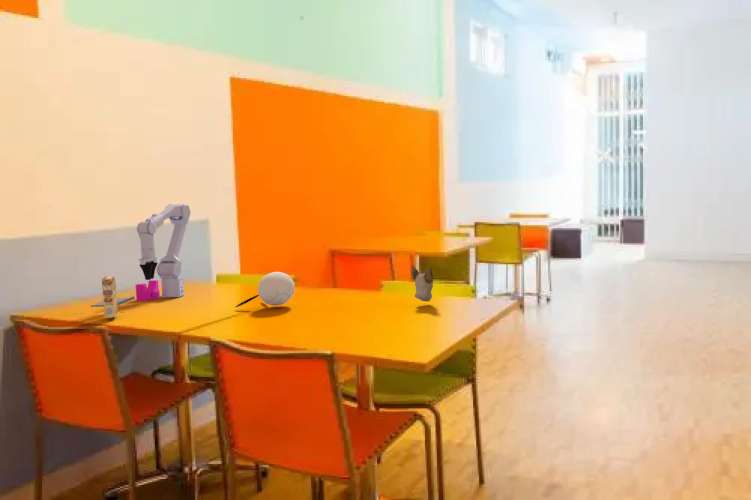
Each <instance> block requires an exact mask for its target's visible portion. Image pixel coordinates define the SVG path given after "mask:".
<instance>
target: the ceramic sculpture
mask: <svg viewBox="0 0 751 500" xmlns="http://www.w3.org/2000/svg"><path fill="white" fill-rule="evenodd" d="M411 266H412V267H411V271H410V272H411V278H412V280H413V281H414V284H415V293H414V298H416V299H418V300H420V301H421V302H431V300H432V298H433V294H432V290H433V287H434V274H433V272H432V271H433V270H432V266H429V267H428V268H427V269H426V270H425V272H422V273H420V272H419V270H418V269H417V268H416V267H415V265H411Z"/></svg>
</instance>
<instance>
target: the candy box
mask: <svg viewBox="0 0 751 500" xmlns="http://www.w3.org/2000/svg"><path fill="white" fill-rule="evenodd" d="M101 284H102V285H101V286H102V287H101V289H102V299H103V300H102V301H104V306H103V312H104V318H105V319H106V318H115V317H117V315H118V314H119V309H118V308H119V305H118V306H117V298H118V295H117V282H116V275H111V276H110V275H109V276H108V275H107V276H104V277H103V278H102V279H101Z"/></svg>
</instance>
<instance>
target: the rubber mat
mask: <svg viewBox="0 0 751 500" xmlns="http://www.w3.org/2000/svg"><path fill="white" fill-rule="evenodd" d="M134 299H136V295H135V296H130V297H117V306H118V307H119V306H120V305H123V304H126V302H127V303H128V302H130V301H132V300H134ZM90 307H104V301H103V300H102V301H99V302H97V303H94V304H91V305H90Z"/></svg>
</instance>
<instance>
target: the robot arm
mask: <svg viewBox="0 0 751 500" xmlns="http://www.w3.org/2000/svg"><path fill="white" fill-rule="evenodd" d="M190 216H191V209H190V206H189V205H188V204H187V203H183V204H181V203H175V204H171V203H169V204H167V205H166V206H165V208H164V209H163V210H162V211H161V212H159V213H153V214H151V216H150V217H148V218H146V219H145V220H144V221H140V222H138V224H137V226H136V227H137V228H136V231H137V233H138V237H139V239H140V255H141V258H138V261H139V267H140V269H141V270H142V272H143V275H144V279H145V280H146V281H150V280H155V279H154V278H155V272H156V274H157V275H158V277H159V278H160V280H161V281H160V282H161V293H162V294H161V295H160V297H159V298H181V297H182V296H184V295H185V285H184V279H183V277H179V276H180V275H181V273H182V265H183V263H182V261H181V260H180V259H179V255H180V251H181V247H182V245H183V241H184V237H185V234H186V233H185V232H186V230H187V226H188V223H189V220H190ZM166 220H169V221H170V223H171V224H173V225H174V226H173V227H174V228H173V231H172V234H171V238H170V241H169V244H168V248H167V251H166V255H165V256H164V257H162V258H161V259H160V261H159V263H158V261H157V256H156V253H155V252H156V251H155V234H156V232H157V229H159V228H160V227H161V226H162V225H163V224H164V222H165V221H166Z"/></svg>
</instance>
